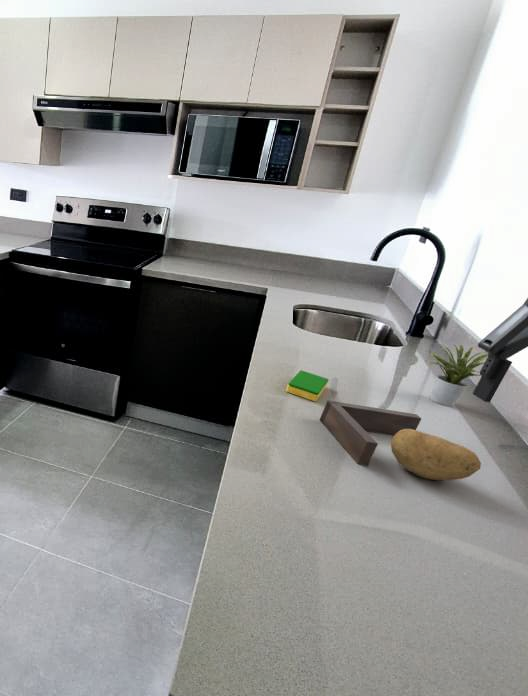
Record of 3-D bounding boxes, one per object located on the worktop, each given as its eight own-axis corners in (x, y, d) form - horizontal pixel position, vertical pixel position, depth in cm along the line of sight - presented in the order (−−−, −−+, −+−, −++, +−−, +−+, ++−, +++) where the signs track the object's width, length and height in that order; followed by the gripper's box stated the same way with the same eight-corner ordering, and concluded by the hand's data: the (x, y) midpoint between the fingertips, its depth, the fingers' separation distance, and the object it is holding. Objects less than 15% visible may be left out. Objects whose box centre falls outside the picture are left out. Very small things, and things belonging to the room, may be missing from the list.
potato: (471, 502, 89) (494, 464, 86) (382, 471, 95) (400, 435, 91) (462, 477, 97) (482, 442, 93) (380, 450, 103) (396, 416, 99)
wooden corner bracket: (406, 433, 112) (416, 414, 110) (459, 480, 95) (472, 458, 93) (319, 419, 112) (327, 400, 110) (357, 464, 96) (367, 441, 94)
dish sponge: (325, 387, 132) (329, 378, 131) (315, 402, 121) (318, 393, 120) (297, 377, 136) (300, 369, 135) (285, 391, 125) (288, 382, 124)
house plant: (442, 390, 142) (470, 336, 135) (488, 414, 130) (521, 356, 123) (401, 388, 139) (427, 333, 132) (444, 412, 127) (475, 352, 120)
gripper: (679, 272, 69) (590, 407, 78) (495, 245, 70) (428, 382, 79) (741, 284, 62) (636, 431, 71) (537, 254, 63) (458, 402, 72)
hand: (526, 405), depth 75 cm, fingers open, 13 cm apart
